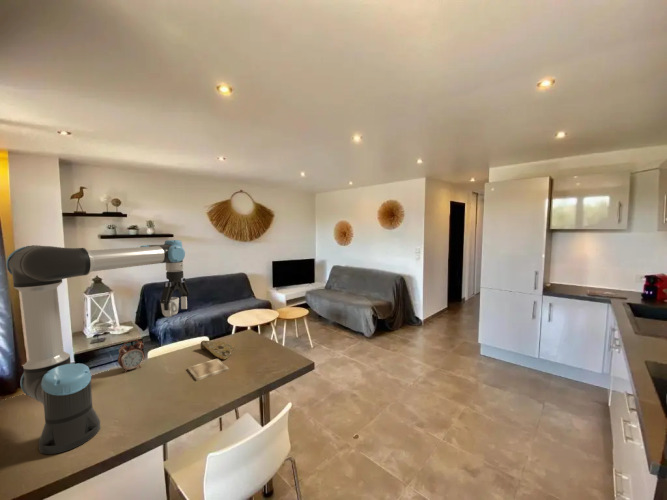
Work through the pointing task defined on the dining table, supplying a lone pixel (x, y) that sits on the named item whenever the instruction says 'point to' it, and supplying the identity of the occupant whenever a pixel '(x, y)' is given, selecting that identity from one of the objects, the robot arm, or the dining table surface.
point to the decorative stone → (218, 348)
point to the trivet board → (207, 369)
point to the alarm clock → (131, 355)
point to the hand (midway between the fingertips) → (176, 312)
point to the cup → (172, 306)
